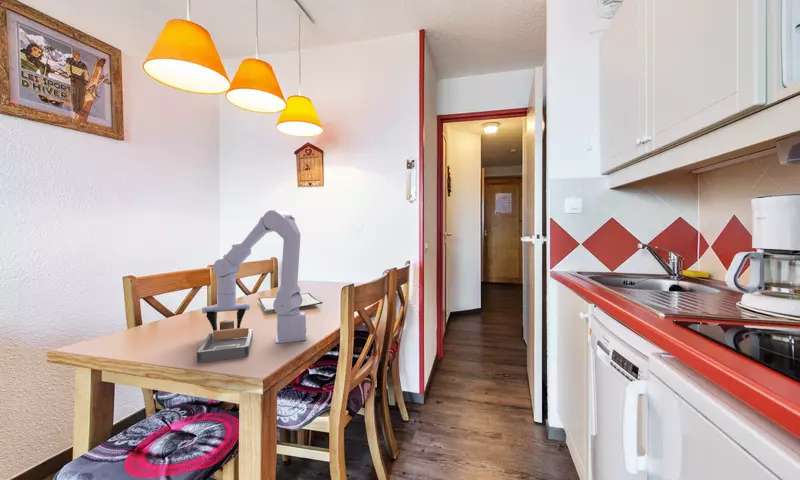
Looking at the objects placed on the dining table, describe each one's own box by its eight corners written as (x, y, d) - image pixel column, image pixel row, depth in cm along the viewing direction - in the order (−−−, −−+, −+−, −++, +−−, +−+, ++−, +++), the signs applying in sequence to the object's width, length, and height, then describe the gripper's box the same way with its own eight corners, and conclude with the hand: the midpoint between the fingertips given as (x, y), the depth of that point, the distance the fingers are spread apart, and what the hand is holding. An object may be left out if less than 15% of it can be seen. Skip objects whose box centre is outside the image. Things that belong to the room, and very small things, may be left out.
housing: (252, 337, 108) (252, 329, 108) (248, 356, 92) (248, 346, 92) (209, 342, 103) (209, 333, 103) (197, 362, 87) (197, 352, 87)
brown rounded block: (234, 333, 112) (234, 319, 112) (233, 337, 108) (233, 322, 108) (220, 334, 111) (220, 320, 110) (218, 338, 106) (218, 324, 106)
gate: (248, 335, 107) (248, 327, 107) (248, 336, 106) (248, 328, 106) (213, 339, 103) (213, 330, 103) (213, 340, 103) (213, 331, 102)
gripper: (250, 289, 115) (250, 326, 116) (205, 292, 110) (205, 330, 110) (248, 293, 109) (249, 332, 109) (200, 296, 103) (200, 336, 104)
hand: (227, 331), depth 109 cm, fingers open, 6 cm apart
